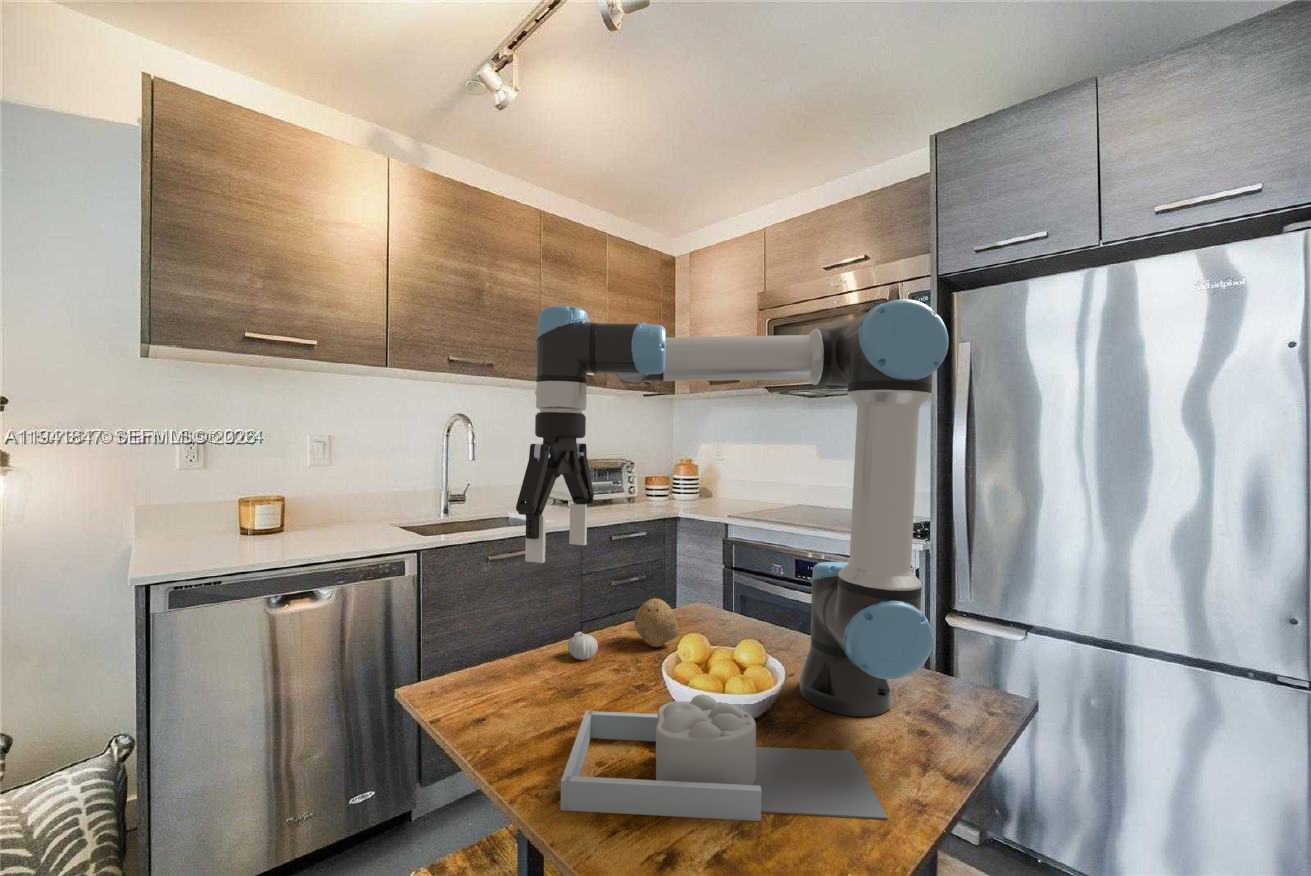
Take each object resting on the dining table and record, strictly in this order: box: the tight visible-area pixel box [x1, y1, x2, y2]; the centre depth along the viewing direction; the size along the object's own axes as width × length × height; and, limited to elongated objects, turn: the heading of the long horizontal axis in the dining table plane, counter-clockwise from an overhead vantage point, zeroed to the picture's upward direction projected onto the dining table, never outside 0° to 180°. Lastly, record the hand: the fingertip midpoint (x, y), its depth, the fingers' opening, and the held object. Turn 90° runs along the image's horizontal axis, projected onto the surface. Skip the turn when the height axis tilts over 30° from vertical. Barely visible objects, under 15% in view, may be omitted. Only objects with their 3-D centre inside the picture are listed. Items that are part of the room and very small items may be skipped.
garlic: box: [567, 631, 599, 661], centre depth 113 cm, size 6×5×5 cm
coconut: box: [634, 597, 679, 648], centre depth 120 cm, size 9×9×10 cm
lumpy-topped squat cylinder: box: [655, 693, 757, 785], centre depth 74 cm, size 10×13×9 cm
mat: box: [753, 746, 888, 820], centre depth 74 cm, size 17×14×1 cm
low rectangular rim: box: [560, 710, 762, 822], centre depth 75 cm, size 24×17×4 cm
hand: (558, 552), depth 85 cm, fingers open, 13 cm apart
